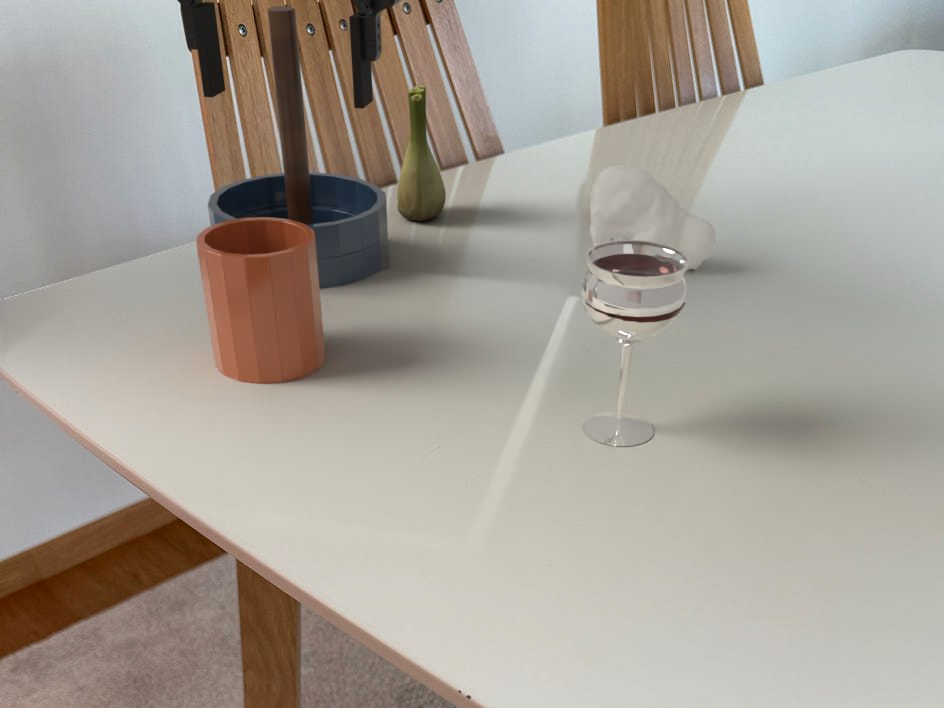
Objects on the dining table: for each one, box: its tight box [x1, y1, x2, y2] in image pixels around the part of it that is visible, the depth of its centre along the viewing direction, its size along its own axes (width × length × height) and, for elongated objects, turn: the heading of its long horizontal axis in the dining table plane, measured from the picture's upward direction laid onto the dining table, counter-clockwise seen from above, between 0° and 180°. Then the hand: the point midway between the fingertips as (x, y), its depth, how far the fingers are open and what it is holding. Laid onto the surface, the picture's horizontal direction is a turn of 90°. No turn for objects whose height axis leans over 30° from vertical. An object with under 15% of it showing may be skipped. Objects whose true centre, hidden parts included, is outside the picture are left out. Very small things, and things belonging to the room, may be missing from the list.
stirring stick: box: [267, 5, 314, 225], centre depth 90 cm, size 3×2×20 cm
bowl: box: [207, 171, 390, 290], centre depth 95 cm, size 16×16×6 cm
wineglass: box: [581, 239, 690, 447], centre depth 70 cm, size 7×7×12 cm
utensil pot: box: [195, 217, 326, 385], centre depth 77 cm, size 8×8×10 cm
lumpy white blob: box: [589, 164, 717, 272], centre depth 95 cm, size 6×8×12 cm
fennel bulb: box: [396, 85, 447, 222], centre depth 104 cm, size 6×5×12 cm
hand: (288, 99), depth 88 cm, fingers open, 12 cm apart
